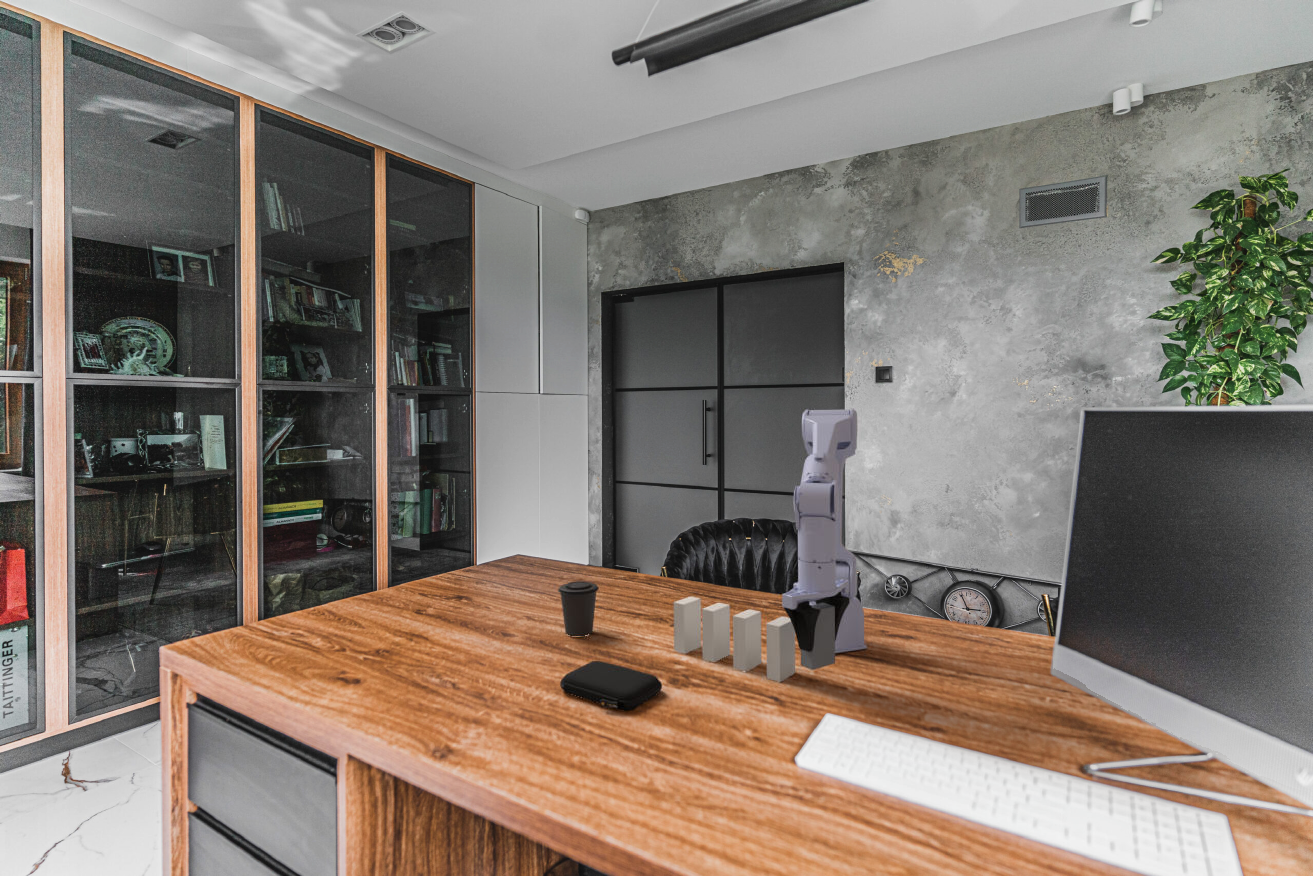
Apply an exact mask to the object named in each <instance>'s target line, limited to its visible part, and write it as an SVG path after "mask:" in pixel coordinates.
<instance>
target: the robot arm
mask: <svg viewBox="0 0 1313 876" xmlns="http://www.w3.org/2000/svg"><path fill="white" fill-rule="evenodd" d="M801 435H802V440H803V443H804V449H805V450H806V453H807V455H808V456H807V457H806V458H805V461H804V463H803V469H802V473H801V480H800V483H799V484H800V485H795V488H794V491H793V510H794V516H795V530H797V565H798V566H797V567H798V569H797V573H798V575H797V577H798V579H797V582H794V583H793V588H792V589H790V590H789V591H787V592H785V593H781V594H782V597H781V598H782V599H781V605H782V606H781V607H782V608H783V610H784V611H785V613H786V614H787V616H788V618H790V620H791V622H792V625H793V627H794V630H795V638H796V641H797V643H798V649H799V650H801V649H802V650H805V651H808V652H811V651H813V647H814V635H815V627H816V622H817V619H818V616H819V614H820V611H821V610H819V609H816V608H812V605H816V604H820V603H825V604H829V605H832V606H835V654H840V653H846V652H852V651H853V652H854V651H857V650H858V651H859V650H865V649H867V648H868V646H867V644H865V612H864V609H863V605H862V603H861V601H860V600H859V599H858V597H857V594H858V568H857V558H856V556H855V554H854V553H853V552H851V551H850V550H849V549H848V548H847V547H845V546H844V545H843V544H842V536H843V535H842V531H843V530H842V527H843V479H844V478H843V475H844V473H843V472H844V468H845V464H846V461H847V459H848V458H852V457H853V456H855V455H856V451H857V447H858V446H857V445H858V441H857V440H858V411H856V409H854V408H850V409H811V410H810V409H805V410H804V411H803V412H802V417H801Z"/></svg>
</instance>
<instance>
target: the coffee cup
mask: <svg viewBox="0 0 1313 876" xmlns="http://www.w3.org/2000/svg"><path fill="white" fill-rule="evenodd" d="M598 590H599V586H598V584H596V583H594V582H589V581H586V580H585V581H584V580H578V581H570V582H567V583H564V584H562V585H559V587H558V590H557V591H558V593H560V599H561V609H562V615H563V622H564V630H565V635H566V634H568V635H570V636H585V635H588V634H591V633H592V632H593V630H594V621H595V611H596V610H595V609H596V598H597V591H598ZM592 634H593V633H592ZM592 634H591V635H592Z"/></svg>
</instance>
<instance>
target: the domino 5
mask: <svg viewBox="0 0 1313 876" xmlns="http://www.w3.org/2000/svg"><path fill="white" fill-rule="evenodd" d="M812 608H816V609H819V610H821V611H820V614H819V616H818V619H817V622H816V627H815V635H814V647H813V651H811V652H808V651H805V650H802V649H800V666H802V667H804V668H806V669H809V670H811V671H814V670H817V669H818V670H819V669H821V668H823V667H824V668H825V667H827V666H830V665H834V664H836V653H835V606H832V605H829V604H825V603H820V604H816V605H812Z"/></svg>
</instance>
